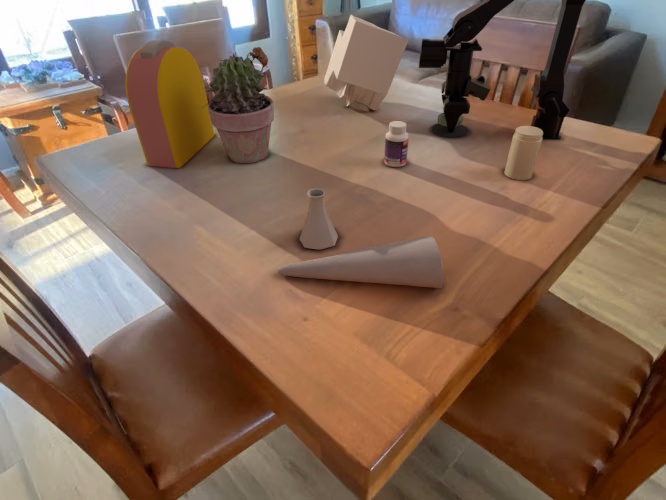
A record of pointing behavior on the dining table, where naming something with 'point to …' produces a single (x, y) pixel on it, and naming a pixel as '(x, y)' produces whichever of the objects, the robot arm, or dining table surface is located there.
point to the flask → (317, 223)
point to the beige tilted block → (364, 62)
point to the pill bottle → (396, 144)
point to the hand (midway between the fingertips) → (450, 127)
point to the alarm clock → (167, 103)
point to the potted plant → (241, 107)
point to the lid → (443, 121)
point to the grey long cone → (378, 264)
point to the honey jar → (523, 152)
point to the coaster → (444, 132)
